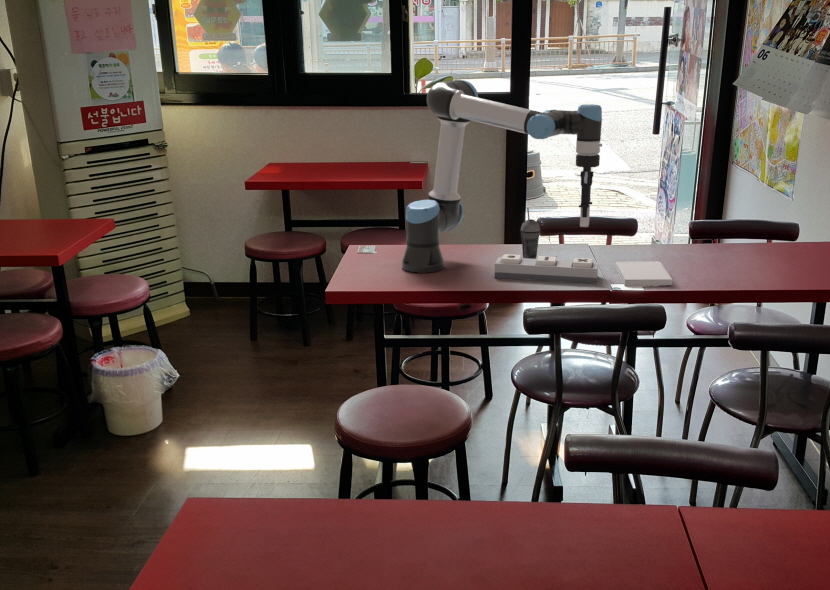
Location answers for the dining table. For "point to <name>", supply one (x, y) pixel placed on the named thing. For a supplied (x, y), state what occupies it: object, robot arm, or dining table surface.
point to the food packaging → (643, 274)
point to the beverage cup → (530, 237)
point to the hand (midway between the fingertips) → (584, 225)
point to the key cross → (582, 262)
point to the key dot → (511, 259)
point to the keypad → (546, 271)
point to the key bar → (546, 261)
